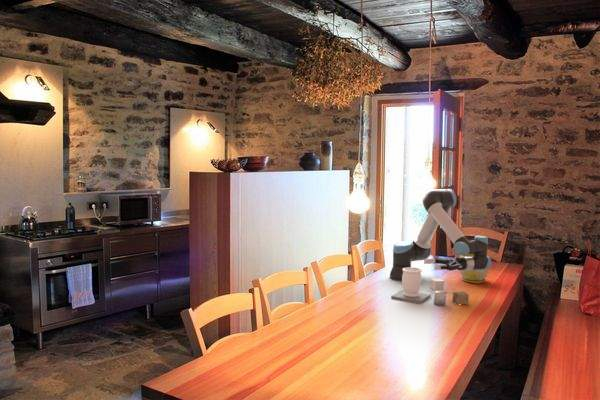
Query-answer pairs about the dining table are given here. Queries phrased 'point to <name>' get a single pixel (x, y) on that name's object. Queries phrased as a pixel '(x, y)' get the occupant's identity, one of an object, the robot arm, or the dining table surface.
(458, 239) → the robot arm
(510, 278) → the dining table surface
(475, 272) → the flowerpot
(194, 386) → the dining table surface
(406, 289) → the jar
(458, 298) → the walnut block
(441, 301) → the metal tin
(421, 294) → the slate board
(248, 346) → the dining table surface
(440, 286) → the offwhite block
